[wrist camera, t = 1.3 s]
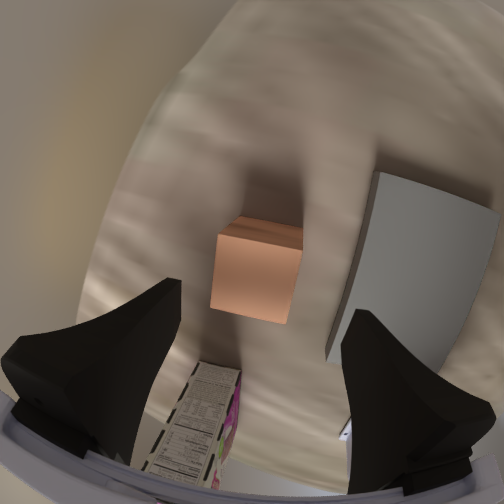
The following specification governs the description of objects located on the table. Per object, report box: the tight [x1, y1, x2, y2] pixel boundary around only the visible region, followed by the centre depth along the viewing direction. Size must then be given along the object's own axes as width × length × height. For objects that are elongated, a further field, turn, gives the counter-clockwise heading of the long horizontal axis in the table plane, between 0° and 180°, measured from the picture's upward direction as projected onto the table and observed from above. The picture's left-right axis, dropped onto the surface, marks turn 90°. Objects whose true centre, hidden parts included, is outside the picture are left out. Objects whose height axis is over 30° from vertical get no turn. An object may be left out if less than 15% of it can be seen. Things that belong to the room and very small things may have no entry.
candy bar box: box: [141, 361, 242, 504], centre depth 21 cm, size 11×5×16 cm, turn 175°
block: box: [210, 216, 303, 324], centre depth 20 cm, size 5×5×6 cm
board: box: [325, 171, 501, 374], centre depth 20 cm, size 16×12×2 cm
